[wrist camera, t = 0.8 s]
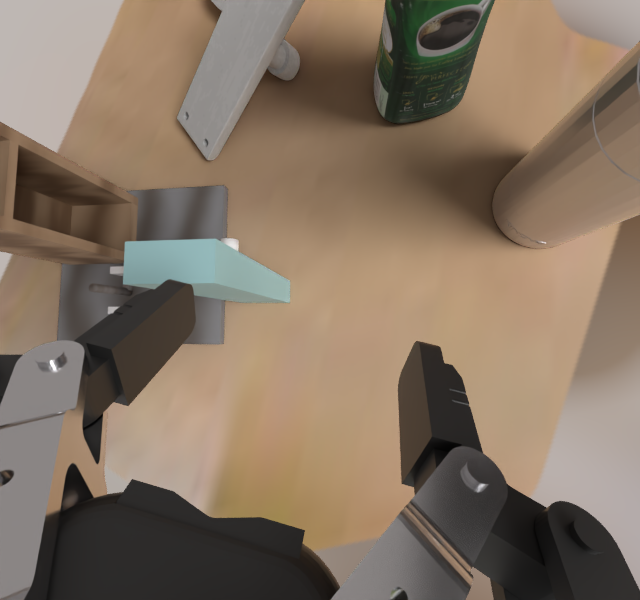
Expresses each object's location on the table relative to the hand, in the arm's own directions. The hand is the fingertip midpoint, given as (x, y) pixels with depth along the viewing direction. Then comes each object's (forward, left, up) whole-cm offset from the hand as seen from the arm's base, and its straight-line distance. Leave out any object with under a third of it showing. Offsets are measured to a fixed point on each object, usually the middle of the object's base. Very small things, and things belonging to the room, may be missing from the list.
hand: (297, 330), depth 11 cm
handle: (-17, -30, -24) cm, 42 cm away
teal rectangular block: (+2, -9, -23) cm, 25 cm away
